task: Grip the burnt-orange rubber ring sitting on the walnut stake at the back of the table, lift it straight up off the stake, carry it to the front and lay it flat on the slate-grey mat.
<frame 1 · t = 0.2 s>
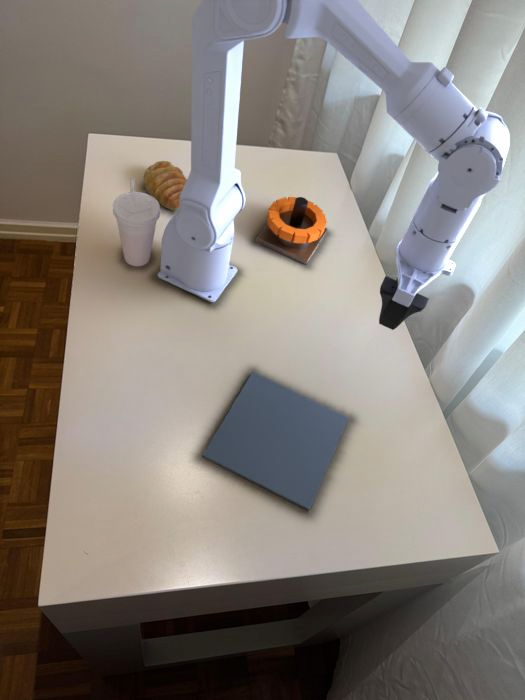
hand: (395, 305, 74), 10 cm above the table, tool pointing down, fingers open, 7 cm apart
pastry: (168, 193, 96), on the table
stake: (291, 237, 94), on the table
smoothie: (137, 258, 86), on the table
ring: (295, 223, 92), point 3 cm above the table, touching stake
mat: (278, 437, 71), on the table
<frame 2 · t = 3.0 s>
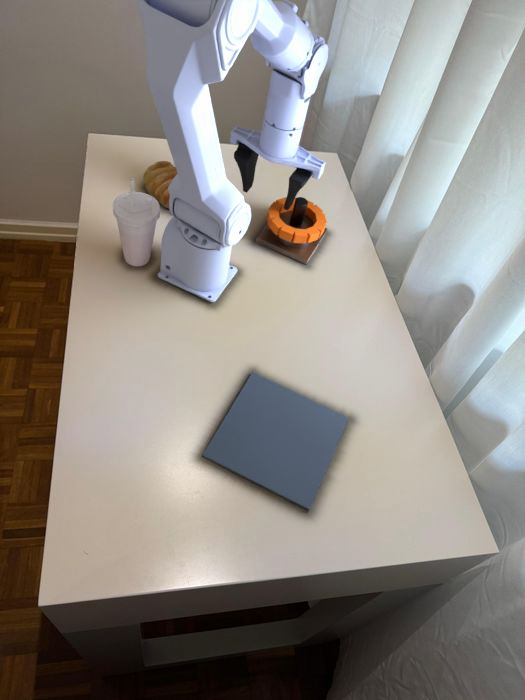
hand: (267, 197, 91), 5 cm above the table, tool pointing down, fingers open, 7 cm apart
nothing on the table moved.
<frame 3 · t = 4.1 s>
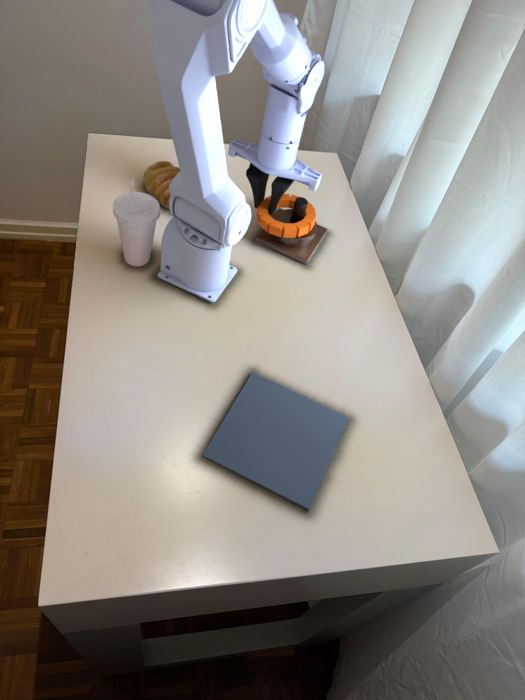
hand: (265, 208, 92), 3 cm above the table, tool pointing down, fingers closed on ring, 2 cm apart
ring: (285, 219, 92), point 3 cm above the table, tilted 5°, touching gripper
everything else where it was.
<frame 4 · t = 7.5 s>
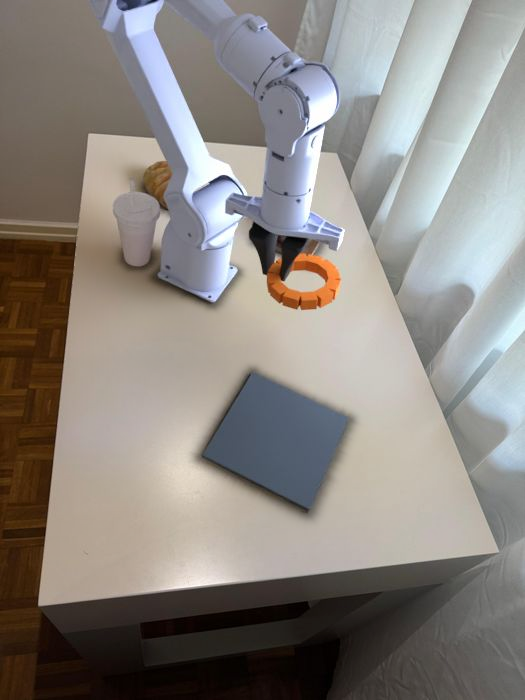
hand: (276, 273, 74), 10 cm above the table, tool pointing down, fingers closed on ring
ring: (303, 285, 74), point 10 cm above the table, tilted 10°, touching gripper
everything else where it was.
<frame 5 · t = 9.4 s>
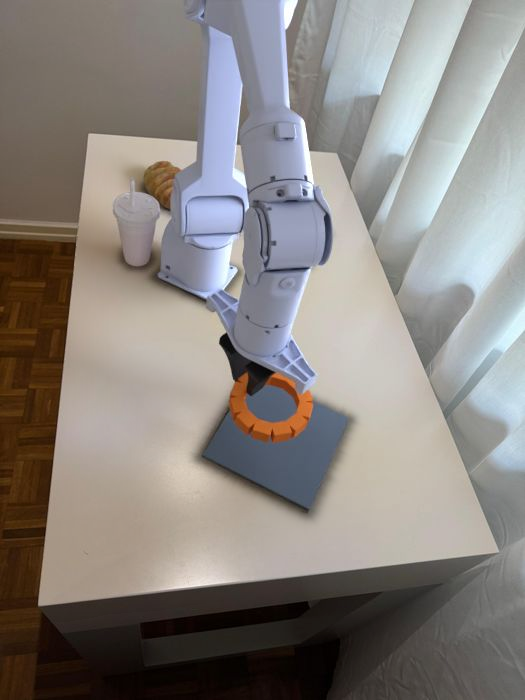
hand: (248, 383, 66), 8 cm above the table, tool pointing down, fingers closed on ring
ring: (270, 407, 65), point 7 cm above the table, touching gripper
everything else where it was.
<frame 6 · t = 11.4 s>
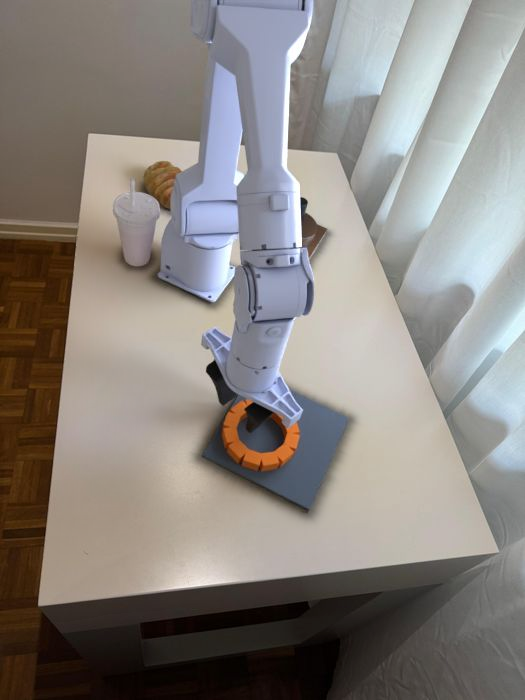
hand: (240, 413, 71), 1 cm above the table, tool pointing down, fingers open, 4 cm apart
ring: (259, 436, 71), resting on mat
everything else where it was.
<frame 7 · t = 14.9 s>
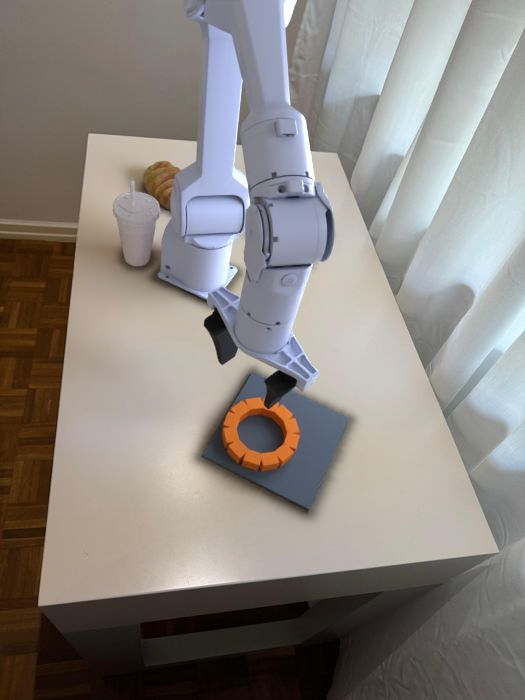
hand: (248, 380, 66), 8 cm above the table, tool pointing down, fingers open, 7 cm apart
nothing on the table moved.
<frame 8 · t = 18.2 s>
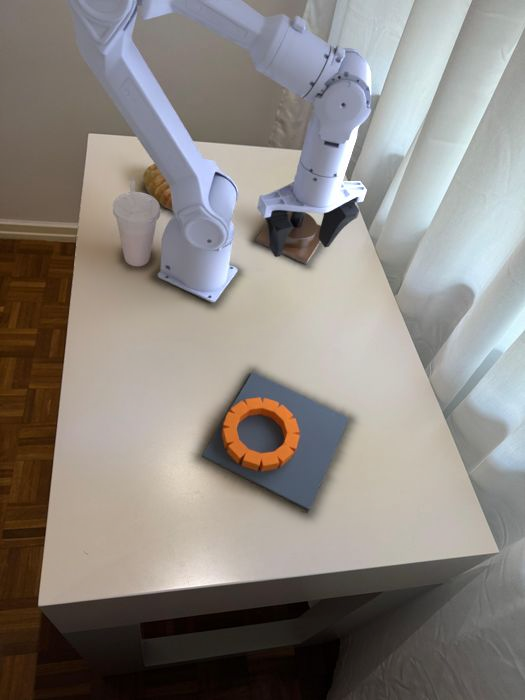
hand: (299, 247, 79), 9 cm above the table, tool pointing down, fingers open, 7 cm apart
nothing on the table moved.
at the end: ring inside the target area on the mat (2.5 cm from its centre), point 0.4 cm above the mat's base; ring touching mat; ring tilted 0° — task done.
